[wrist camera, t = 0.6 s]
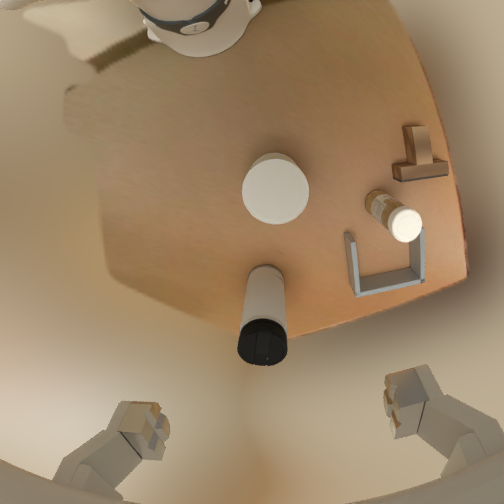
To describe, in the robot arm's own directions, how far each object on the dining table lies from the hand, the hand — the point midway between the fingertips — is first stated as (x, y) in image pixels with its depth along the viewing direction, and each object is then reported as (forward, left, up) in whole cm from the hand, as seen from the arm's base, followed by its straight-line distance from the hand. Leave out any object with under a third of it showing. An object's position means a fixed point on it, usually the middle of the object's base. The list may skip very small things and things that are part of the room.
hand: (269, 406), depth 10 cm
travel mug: (+16, -4, -43) cm, 46 cm away
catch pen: (+15, +17, -43) cm, 48 cm away
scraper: (-2, +25, -43) cm, 50 cm away
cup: (-1, +1, -43) cm, 43 cm away
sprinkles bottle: (+6, +17, -43) cm, 47 cm away
